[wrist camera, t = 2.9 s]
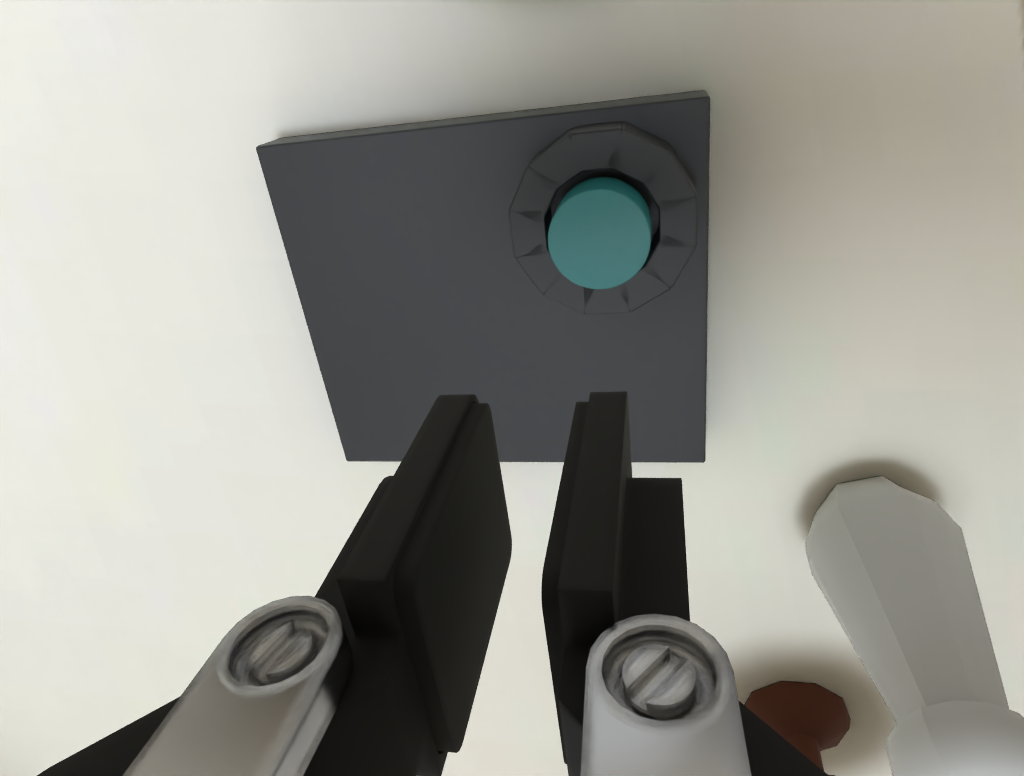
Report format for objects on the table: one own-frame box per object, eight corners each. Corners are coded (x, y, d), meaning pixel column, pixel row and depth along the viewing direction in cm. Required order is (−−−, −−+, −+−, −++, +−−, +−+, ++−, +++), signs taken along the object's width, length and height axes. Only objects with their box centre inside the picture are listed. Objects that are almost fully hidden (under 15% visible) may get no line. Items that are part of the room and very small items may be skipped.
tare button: (649, 172, 21) (649, 184, 20) (652, 268, 23) (652, 287, 21) (550, 180, 22) (542, 193, 21) (559, 274, 24) (552, 292, 22)
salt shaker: (951, 458, 28) (1150, 763, 16) (932, 563, 30) (1093, 887, 19) (798, 461, 29) (887, 745, 18) (793, 561, 32) (868, 863, 21)
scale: (706, 89, 23) (714, 102, 20) (702, 438, 29) (708, 487, 26) (279, 137, 26) (230, 154, 23) (361, 439, 33) (332, 483, 30)
